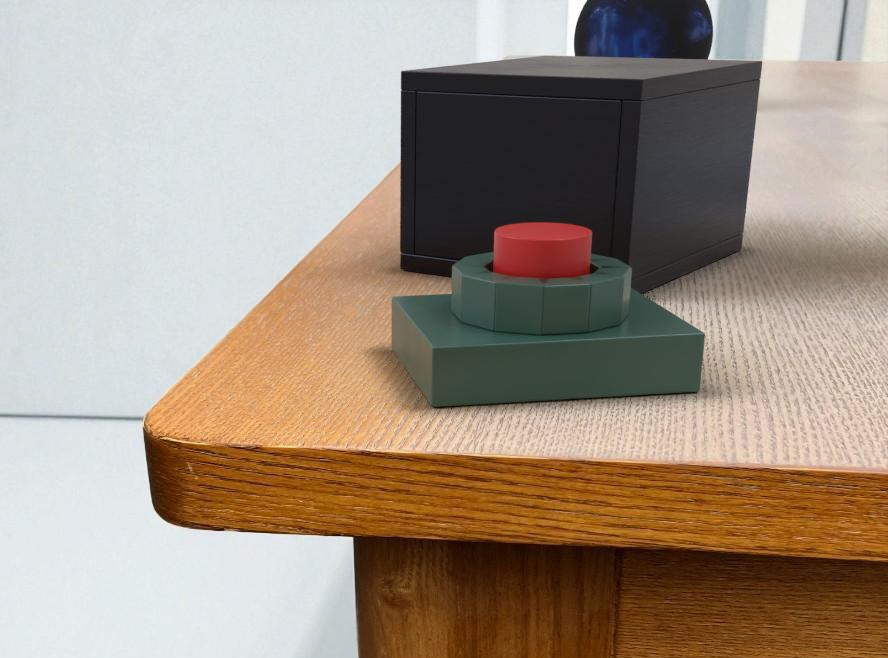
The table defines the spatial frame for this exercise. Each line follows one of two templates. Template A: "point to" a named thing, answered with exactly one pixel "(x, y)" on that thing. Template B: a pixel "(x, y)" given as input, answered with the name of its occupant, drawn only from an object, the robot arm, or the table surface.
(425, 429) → the table surface
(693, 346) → the block
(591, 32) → the decorative sphere
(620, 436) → the table surface
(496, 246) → the button
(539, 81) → the black paneled box
